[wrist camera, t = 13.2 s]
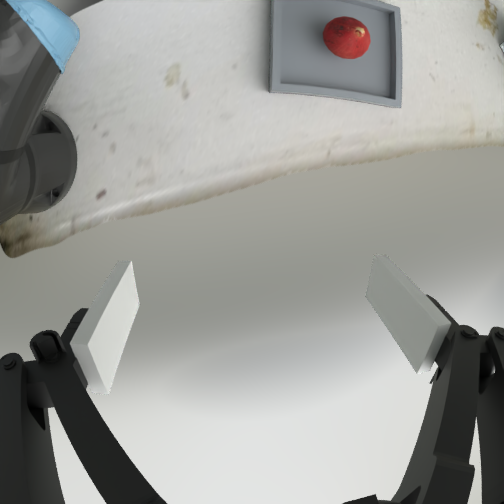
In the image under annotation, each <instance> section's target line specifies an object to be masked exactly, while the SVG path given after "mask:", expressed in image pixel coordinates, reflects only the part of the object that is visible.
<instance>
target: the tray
mask: <svg viewBox="0 0 504 504" xmlns="http://www.w3.org/2000/svg"><path fill="white" fill-rule="evenodd" d="M342 16H347V17H352V18H355V19H357V20H359V21H361V22H362V23H363V24H364V25H365V26H366V27H367V29H368V31H369V34H370V40H371V42H370V45H369V48H368V50H367V51H366V52H365V53H364V54H363V55H362V56H361V57H358V58H355V59H343V58H341V57H338V56H336V55H334V54H333V53H332V52H331V51H330V50H329V49H328V48H327V46H326V45H325V43H324V41H323V31H324V28H325V26H326V24H327V23H328V22H330V21H331V20H332V19H334V18H337V17H342ZM269 93H286V94H299V95H310V96H320V97H329V98H337V99H344V100H351V101H357V102H364V103H369V104H375V105H381V106H386V107H391V108H401V102H402V33H401V15H400V8H399V7H396V6H393V5H390V4H387V3H384V2H380V1H377V0H271V34H270V79H269Z"/></svg>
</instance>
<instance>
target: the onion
mask: <svg viewBox="0 0 504 504" xmlns="http://www.w3.org/2000/svg"><path fill="white" fill-rule="evenodd" d="M323 41H324V43H325V45H326V46H327V48H328V49H329V50H330V51H331V52H332V53H333V54H334V55H336V56H338V57H341V58H343V59H355V58H358V57H361V56H362V55H363V54H364V53H365V52H366V51H367V50H368V48H369V45H370V42H371V40H370V34H369V31H368V29H367V27H366V26H365V25H364V24H363V23H362V22H361V21H359V20H357V19H355V18H352V17H347V16H342V17H337V18H334V19H332V20H331V21H330V22H328V23H327V24H326V26H325V28H324V31H323Z"/></svg>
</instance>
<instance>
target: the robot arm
mask: <svg viewBox="0 0 504 504" xmlns="http://www.w3.org/2000/svg"><path fill="white" fill-rule="evenodd" d="M79 38H80V32H79V28H78V26H77V25H76V23H75V22H74V21H73V20H72V19H71V18H70V17H69V16H67V15H66V14H65V13H63V12H62V11H61V10H60V9H58V8H57V7H56V6H54V5H53V4H51V3H50V2H48V1H47V0H0V225H1V224H3V223H4V222H6V221H7V220H9V219H10V218H12V217H14V216H15V215H17V214H24V213H39V212H42V211H45V210H47V209H49V208H51V207H52V206H54V205H56V204H57V203H58V202H60V201H61V200H62V199H63V198H64V197H65V195H66V194H67V193H68V191H69V189H70V188H71V185H72V183H73V181H74V177H75V173H76V168H77V151H76V145H75V141H74V138H73V135H72V133H71V131H70V129H69V128H68V126H67V125H66V123H65V122H64V121H63V120H62V119H61V118H59V117H58V116H57V115H55V114H53V113H50V112H46V111H42V109H43V107H44V105H45V103H46V101H47V99H48V97H49V95H50V93H51V91H52V89H53V87H54V85H55V83H56V82H57V80H58V78H59V76H60V75H61V74H63V72H64V71H65V65H66V63H67V61H68V59H69V58H70V56H71V54H72V52H73V51H74V49H75V47H76V46H77V44H78V41H79ZM365 297H366V298H367V300H368V301H369V302H370V304H371V305H372V306H373V308H374V310H375V311H376V313H377V314H378V315H379V317H380V318H381V320H382V321H383V323H384V324H385V326H386V327H387V329H388V330H389V332H390V333H391V335H392V336H393V338H394V339H395V341H396V342H397V344H398V345H399V347H400V348H401V350H402V351H403V353H404V354H405V356H406V357H407V359H408V361H409V362H410V364H411V365H412V367H413V368H414V370H415V372H416V373H417V374H419V373H423V372H427V371H430V369H431V367H432V365H433V363H434V361H435V362H436V363H437V365H438V368H437V370H436V372H435V374H434V376H433V378H432V379H431V381H430V384H431V383H432V382H433V385H432V389H431V394H430V398H429V402H428V405H427V409H426V413H425V416H424V420H423V423H422V426H421V430H420V433H419V436H418V440H417V442H416V445H415V448H414V451H413V454H412V457H411V459H410V462H409V465H408V467H407V470H406V473H405V475H404V478H403V480H402V483H401V485H400V487H399V489H398V491H397V492H396V494H395V495H394V497H393V498H392V500H391V501H387V500H377V497H376V494H375V495H371V496H367V497H364V498H360V499H357V500H352V501H348V502H345V503H343V504H467V502H468V499H469V495H470V491H471V487H472V482H473V478H474V472H475V468H474V465H470V464H469V458H470V453H471V447H472V442H473V436H474V428H475V420H476V417H477V424H478V433H479V443H480V454H481V455H480V456H481V475H482V504H504V328H500V327H493V328H492V329H491V331H490V333H489V335H488V336H487V335H479V334H478V332H477V331H476V330H475V329H473V328H472V327H470V326H467V325H459V324H458V323H457V322H456V321H455V320H454V319H453V318H452V317H451V316H450V315H449V313H447V311H445V309H444V308H443V307H441V305H440V304H439V303H438V302H437V301H436V300H435V299H434V298H432V297H431V296H429V295H425V294H424V293H423V292H422V291H421V290H420V289H419V288H418V287H417V286H416V285H415V283H414V282H413V281H412V280H411V279H410V278H409V277H408V276H407V275H406V274H405V273H404V272H403V271H402V270H401V269H400V268H399V267H398V266H397V265H396V264H395V263H394V262H393V261H392V260H391V259H390V258H389V257H388V256H387V255H374V258H373V264H372V269H371V273H370V278H369V284H368V288H367V292H366V296H365ZM139 305H140V304H139V299H138V294H137V289H136V283H135V278H134V272H133V267H132V261H118V262H117V264H116V265H115V267H114V268H113V270H112V271H111V273H110V275H109V276H108V278H107V280H106V281H105V283H104V284H103V286H102V288H101V289H100V291H99V293H98V294H97V296H96V298H95V299H94V301H93V303H92V304H91V306H90V308H82V309H80V310H79V311H77V312H76V313H75V314H74V315H73V317H72V319H71V320H70V323H68V325H67V327H66V329H65V330H64V332H63V334H62V335H61V337H60V336H59V334H58V333H57V332H56V331H52V330H46V331H42V332H40V333H38V334H36V335H35V336H34V337H33V338H32V339H31V341H30V348H31V350H32V352H33V354H34V357H35V359H36V360H34V361H27V362H24V361H23V359H22V357H21V356H20V355H19V354H17V353H9V354H6V355H4V356H3V357H2V358H1V359H0V504H65V501H64V498H63V494H62V490H61V486H60V481H59V477H58V472H57V468H56V462H55V457H54V452H53V446H52V439H51V433H50V425H49V416H48V408H51V407H55V410H56V412H57V414H58V417H59V419H60V421H61V423H62V425H63V427H64V430H65V431H66V434H67V435H68V438H69V440H70V442H71V444H72V446H73V448H74V450H75V451H76V454H77V455H78V457H79V459H80V461H81V462H82V464H83V466H84V468H85V470H86V471H87V473H88V475H89V477H90V478H91V480H92V482H93V483H94V485H95V486H96V488H97V490H98V491H99V493H100V494H101V496H102V497H103V499H104V500H105V502H106V503H107V504H167V503H166V502H165V501H164V500H163V499H162V498H161V497H160V496H159V495H158V493H156V491H155V490H154V489H153V488H152V486H151V485H150V484H149V483H148V482H147V480H146V479H145V478H144V477H143V475H142V474H141V473H140V471H139V470H138V469H137V468H136V466H135V465H134V464H133V462H132V461H131V460H130V458H129V457H128V455H127V454H126V453H125V451H124V450H123V448H122V447H121V446H120V444H119V443H118V441H117V440H116V438H115V437H114V435H113V434H112V433H111V431H110V430H109V428H108V426H107V425H106V423H105V422H104V420H103V419H102V417H101V415H100V413H99V412H98V410H97V408H96V407H95V405H94V404H93V402H92V400H91V398H90V397H89V395H88V393H87V391H86V388H87V385H89V387H90V389H91V391H92V393H96V394H104V395H109V392H110V389H111V386H112V383H113V380H114V376H115V373H116V370H117V367H118V364H119V361H120V358H121V355H122V352H123V349H124V346H125V343H126V340H127V338H128V335H129V332H130V329H131V326H132V324H133V321H134V318H135V316H136V313H137V310H138V308H139ZM494 371H495V374H494Z"/></svg>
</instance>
